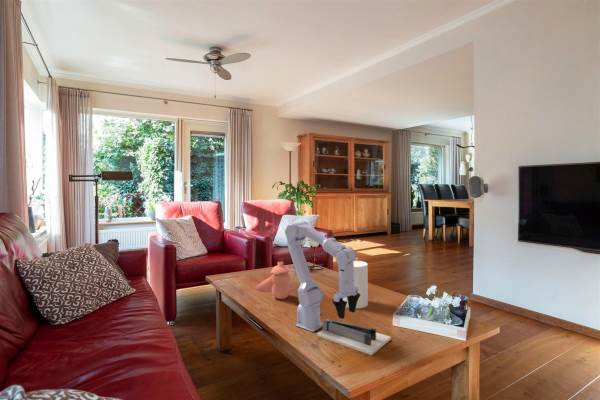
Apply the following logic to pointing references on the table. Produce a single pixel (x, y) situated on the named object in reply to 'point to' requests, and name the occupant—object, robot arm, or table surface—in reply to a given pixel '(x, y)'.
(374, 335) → the tongs arm
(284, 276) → the ceramic vessels
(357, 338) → the tongs base
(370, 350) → the cutting board
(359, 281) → the canister
